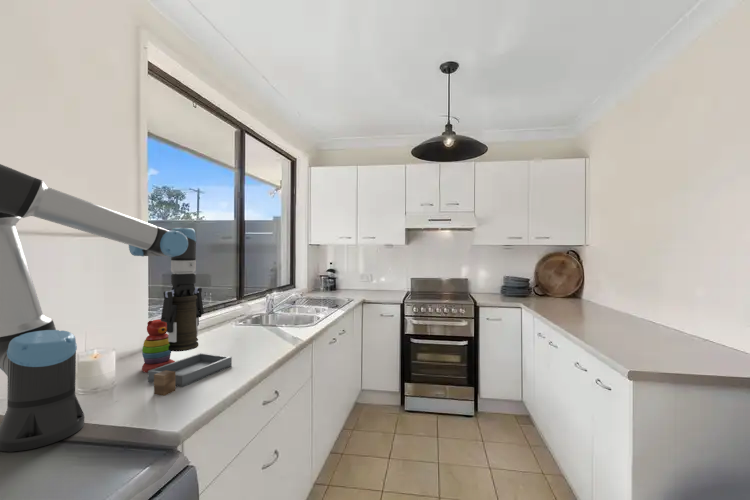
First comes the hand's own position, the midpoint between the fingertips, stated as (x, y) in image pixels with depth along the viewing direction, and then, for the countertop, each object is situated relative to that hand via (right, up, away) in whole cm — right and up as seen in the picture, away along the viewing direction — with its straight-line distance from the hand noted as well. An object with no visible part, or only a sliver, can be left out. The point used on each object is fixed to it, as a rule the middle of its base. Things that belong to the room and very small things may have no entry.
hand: (183, 338), depth 121 cm
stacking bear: (-16, -14, +10) cm, 23 cm away
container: (0, -3, 0) cm, 3 cm away
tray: (+1, -13, +4) cm, 14 cm away
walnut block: (+2, -13, -13) cm, 19 cm away
